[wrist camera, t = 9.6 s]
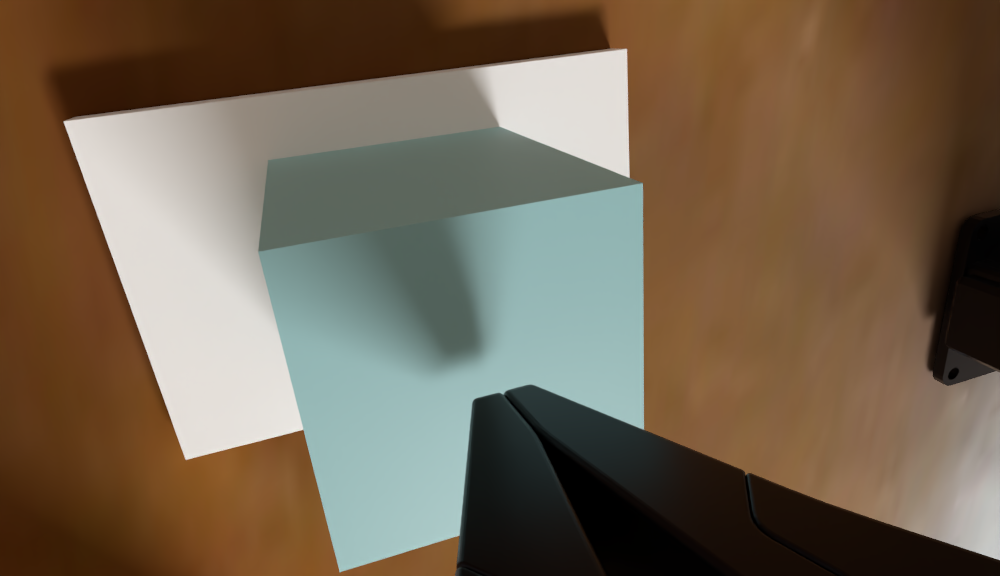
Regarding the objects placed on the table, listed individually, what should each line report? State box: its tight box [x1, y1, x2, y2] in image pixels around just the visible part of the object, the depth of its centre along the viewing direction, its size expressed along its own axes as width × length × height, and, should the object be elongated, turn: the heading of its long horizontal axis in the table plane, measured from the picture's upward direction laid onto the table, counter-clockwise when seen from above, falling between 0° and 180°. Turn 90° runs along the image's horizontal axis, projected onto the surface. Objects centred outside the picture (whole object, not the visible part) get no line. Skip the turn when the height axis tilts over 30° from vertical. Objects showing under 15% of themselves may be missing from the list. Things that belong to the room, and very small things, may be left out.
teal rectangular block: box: [258, 127, 644, 572], centre depth 12 cm, size 5×5×7 cm
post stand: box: [63, 49, 629, 460], centre depth 13 cm, size 12×8×6 cm, turn 95°
